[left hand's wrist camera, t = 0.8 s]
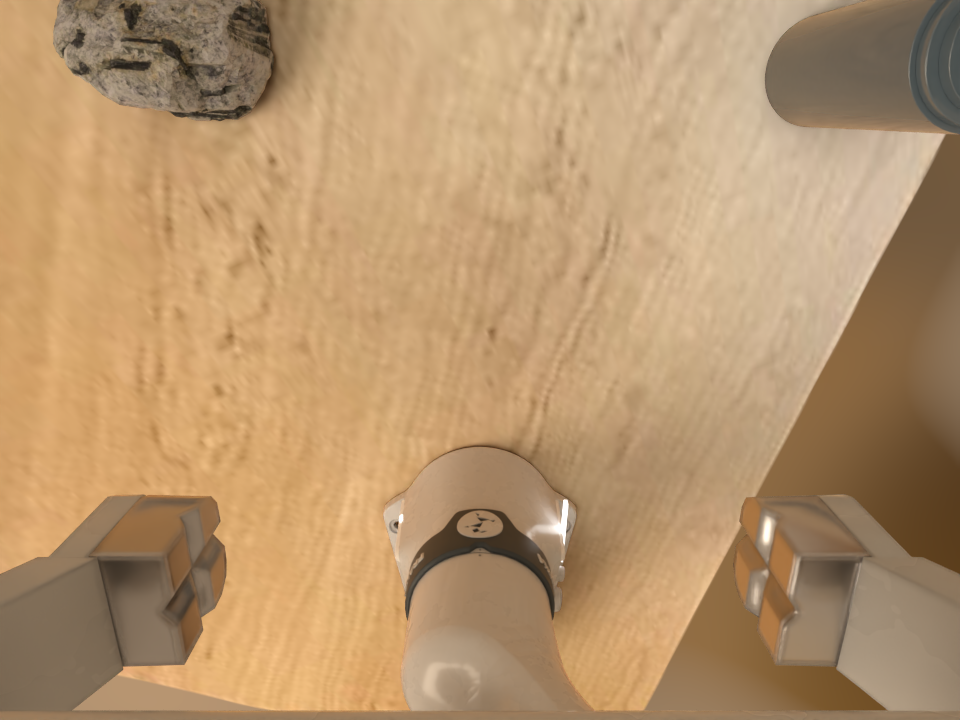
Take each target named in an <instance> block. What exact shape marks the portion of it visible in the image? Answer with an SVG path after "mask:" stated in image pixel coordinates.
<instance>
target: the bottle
mask: <svg viewBox="0 0 960 720" xmlns="http://www.w3.org/2000/svg"><path fill="white" fill-rule="evenodd" d="M765 85H766V92H767V96H768V99H769V101H770V103H771V105H772V107H773V109H774V110H775V111H776V113H777V114H778V115H779V116H780V117H782V118H783V119H784V120H786V121H787V122H789V123H791V124H794V125H797V126H802V127H818V128H838V129H859V130H879V131H900V132H921V133H941V134H960V0H866V1H863V2H859V3H856V4H852V5H849V6H845V7H842V8H838V9H835V10H831V11H828V12H824V13H821V14H817V15H814V16H811V17H808V18H806V19H803V20H802V21H800V22H798V23H796V24H795V25H794V26H792V27H791V28H790V29H789V30H788V31H786V32H785V34H784V35H783V36H782V37H781V38H780V39H779V41H778V42H777V44H776V45H775V47H774V49H773V51H772V53H771V55H770V57H769V60H768V64H767V68H766V74H765Z"/></svg>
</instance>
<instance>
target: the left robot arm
mask: <svg viewBox="0 0 960 720" xmlns="http://www.w3.org/2000/svg"><path fill="white" fill-rule="evenodd" d="M383 516H384V521H385V524H386V528H387V531H388V535H389V538H390V542H391V545H392V549H393V552H394V555H395V559H396V562H397V566H398V569H399V573H400V576H401V580H402V583H403V587H404V590H405V597H406V600H405V611H406V617H407V620H408V623H407V630H406V638H405V645H404V652H403V659H402V667H401V684H402V690H403V693H404V697H405V700H406V702H407V704H408V706H409V708H410V710H411V711H72V710H73V709H74V708H75V707H77V706H78V705H79V704H81V703H82V702H83V701H84V700H86V699H87V698H88V697H89V696H91V695H92V694H93V693H94V692H96V691H97V690H98V689H99V688H101V687H102V686H103V685H104V684H106V683H107V682H108V681H110V680H111V679H112V678H113V677H115V676H116V675H117V674H118V673H120V672H121V671H122V670H123V666H158V665H185V663H186V661H187V659H188V657H189V655H190V653H191V652H192V650H193V648H194V646H195V644H196V642H197V641H198V639H199V637H200V635H201V633H202V631H203V626H202V620H201V617H202V616H204V615H205V614H207V613H208V612H210V611H211V610H213V609H214V608H215V607H216V605H217V603H218V601H219V599H220V597H221V595H222V591H223V587H224V583H225V578H226V553H225V546H224V545H223V544H222V543H221V542H220V541H219V540H218V539H217V538H216V537H215V536H214V535H213V533H214V531H215V529H216V528H217V526H218V525H219V523H220V516H219V510H218V505H217V502H216V501H215V500H214V499H213V498H212V497H211V496H170V495H147V496H146V495H114V496H109V497H107V498H106V499H105V500H104V501H103V502H102V503H101V504H100V505H99V506H98V507H97V508H96V509H95V510H94V511H93V512H92V513H91V514H90V515H89V516H88V517H87V518H86V519H85V520H84V521H83V522H82V524H81V525H80V526H79V527H78V528H77V529H76V530H75V531H74V532H73V533H72V534H71V535H70V536H69V537H68V538H67V539H66V540H65V541H64V542H63V543H62V544H61V545H60V546H59V547H58V548H57V549H56V550H55V551H54V552H53V553H52V554H51V555H50V556H49V557H37V558H35V559H33V560H31V561H28V562H26V563H24V564H22V565H19V566H17V567H15V568H13V569H11V570H8V571H6V572H4V573H2V574H0V720H960V574H958V573H956V572H954V571H951V570H949V569H947V568H945V567H943V566H940V565H938V564H936V563H934V562H932V561H929V560H927V559H925V558H923V557H911V556H910V555H909V554H908V553H907V552H906V551H905V550H904V549H903V548H902V547H901V546H900V545H899V544H898V543H897V542H896V541H895V540H894V539H893V538H892V537H891V536H890V535H889V534H888V533H887V532H886V531H885V530H884V529H883V527H882V526H881V525H880V524H879V523H878V522H877V521H876V520H875V519H874V518H873V517H872V516H871V515H870V514H869V513H868V512H867V511H866V510H865V509H864V508H863V507H862V506H861V505H860V504H859V503H858V502H857V501H856V500H855V499H854V498H853V497H850V496H848V495H845V494H841V495H815V496H779V497H747V498H746V499H745V501H744V503H743V505H742V509H741V515H740V523H741V525H742V526H743V528H744V529H745V531H746V533H747V535H746V536H745V537H744V538H743V539H742V540H741V541H740V542H739V543H738V544H737V545H736V546H735V554H734V563H733V567H734V578H735V584H736V588H737V591H738V594H739V597H740V599H741V601H742V603H743V605H744V607H745V608H746V609H747V610H749V611H750V612H752V613H753V614H755V615H756V616H758V617H759V620H758V626H757V631H758V633H759V635H760V637H761V639H762V641H763V642H764V644H765V646H766V648H767V650H768V652H769V653H770V655H771V657H772V659H773V661H774V663H775V664H776V665H801V666H837V670H838V671H839V672H841V673H842V674H843V675H844V676H846V677H847V678H848V679H849V680H851V681H852V682H853V683H855V684H856V685H857V686H858V687H860V688H861V689H862V690H863V691H865V692H866V693H867V694H868V695H870V696H871V697H872V698H873V699H875V700H876V701H877V702H878V703H880V704H881V705H882V706H883V707H885V708H886V709H887V710H888V711H594V710H593V708H592V707H591V706H590V705H589V704H588V703H587V702H586V701H585V700H584V698H583V697H582V696H581V695H580V693H579V692H578V691H577V690H576V688H575V687H574V685H573V684H572V682H571V681H570V679H569V677H568V676H567V674H566V672H565V670H564V667H563V664H562V661H561V657H560V653H559V650H558V646H557V642H556V637H555V633H554V627H553V622H552V620H553V617H554V612H559V611H560V608H561V604H562V589H561V588H560V587H557V583H558V582H563V581H564V577H565V567H564V566H563V562H564V559H565V556H566V552H567V549H568V545H569V542H570V538H571V535H572V531H573V528H574V524H575V521H576V516H577V514H576V507H575V505H574V504H573V503H572V502H571V501H570V500H569V499H567V498H566V497H564V496H562V495H561V494H559V493H557V492H555V491H554V490H553V489H552V488H551V487H550V486H549V485H548V483H547V482H546V481H545V479H544V478H543V476H542V475H541V474H540V473H539V471H538V470H537V469H536V468H535V467H533V466H532V465H531V464H530V463H529V462H527V461H526V460H524V459H523V458H521V457H519V456H517V455H515V454H513V453H511V452H508V451H505V450H501V449H497V448H491V447H469V448H463V449H459V450H455V451H452V452H449V453H447V454H445V455H443V456H441V457H439V458H437V459H436V460H434V461H433V462H431V463H430V464H429V465H428V466H427V467H425V468H424V469H423V470H422V471H421V473H420V474H419V475H418V476H417V478H416V479H415V481H414V482H413V483H412V485H411V486H410V487H409V488H408V489H407V490H406V491H405V492H403V493H401V494H399V495H398V496H396V497H394V498H393V499H391V500H390V501H389V502H388V503H387V504H386V505H385V507H384V515H383ZM397 521H399V524H396V523H395V522H397ZM561 521H562V524H561Z"/></svg>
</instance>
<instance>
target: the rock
mask: <svg viewBox="0 0 960 720" xmlns="http://www.w3.org/2000/svg"><path fill="white" fill-rule="evenodd" d="M53 35H54V40H53V44H54V47H55V49H56V51H57V53H58V54H59V55H60V57H61V58H63V59H64V60H65V63H66V65H67V66H68V68H69V69H70V70H71V72H72V73H73V74H74V75H75V76H78V77H80V78H82V79H83V80H85V81H86V82H88V83H90V84H91V85H92V86H93V87H94V88H96V89H97V90H98V91H99V92H100V93H101V94H102V95H104V96H105V97H107V98H109V99H110V100H112V101H114V102H116V103H117V104H119V105H124V106H131V107H138V108H152V109H155V110H159V111H168V112H170V113H172V114H173V115H175V116H177V117H188V118H189V119H193V120H199V121H210V120H218V121H222V120H224V119H235V120H238V119H240V118H241V117H243V116H245V115H247V114H248V113H250V112H251V111H252V109H253V108H254V107H255V105H256V103H257V101H258V100H259V98H260V96H261V94H262V93H263V92H264V90H265V87H266V83H267V80H268V79H269V78H270V76H271V74H272V69H273V64H274V56H273V53H272V50H271V49H270V40H269V35H270V32H269V28H268V26H267V14H266V7H265V6H264V5H263V4H262V3H260V2H259V1H257V0H60V3H59V5H58V8H57V19H56V21H55V26H54V31H53Z"/></svg>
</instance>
